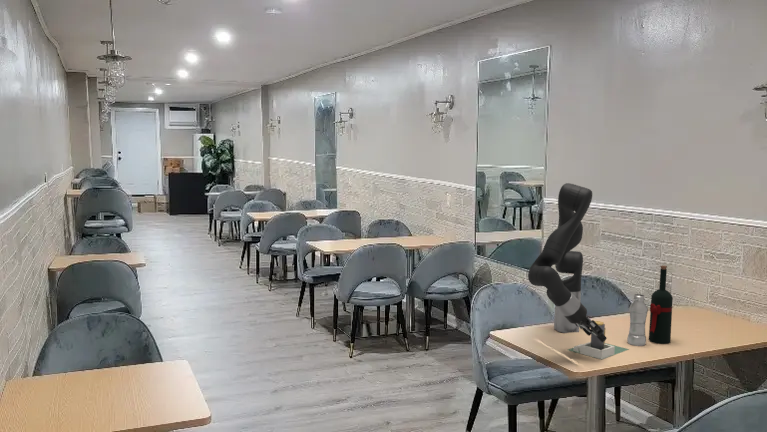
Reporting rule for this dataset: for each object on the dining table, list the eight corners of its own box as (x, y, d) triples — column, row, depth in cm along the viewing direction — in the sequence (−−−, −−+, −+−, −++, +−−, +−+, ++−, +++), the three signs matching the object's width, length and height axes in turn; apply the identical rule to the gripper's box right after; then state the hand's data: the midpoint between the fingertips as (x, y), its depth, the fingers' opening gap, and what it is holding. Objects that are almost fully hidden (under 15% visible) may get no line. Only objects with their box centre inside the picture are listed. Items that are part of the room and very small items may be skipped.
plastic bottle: (623, 344, 247) (626, 293, 245) (640, 343, 248) (643, 293, 246) (631, 349, 241) (634, 297, 239) (649, 349, 241) (651, 297, 239)
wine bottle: (641, 341, 251) (645, 265, 248) (655, 337, 257) (659, 263, 254) (660, 346, 245) (665, 269, 242) (674, 341, 251) (678, 266, 248)
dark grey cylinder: (594, 356, 228) (596, 324, 227) (587, 352, 232) (589, 321, 231) (607, 355, 229) (608, 323, 228) (599, 351, 234) (601, 320, 232)
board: (566, 353, 235) (567, 341, 235) (595, 343, 247) (595, 332, 247) (601, 362, 225) (601, 351, 224) (629, 352, 237) (629, 341, 236)
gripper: (589, 304, 219) (616, 334, 224) (566, 295, 233) (592, 324, 237) (574, 320, 218) (602, 350, 223) (553, 310, 232) (579, 339, 236)
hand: (597, 336), depth 230 cm, fingers open, 8 cm apart
